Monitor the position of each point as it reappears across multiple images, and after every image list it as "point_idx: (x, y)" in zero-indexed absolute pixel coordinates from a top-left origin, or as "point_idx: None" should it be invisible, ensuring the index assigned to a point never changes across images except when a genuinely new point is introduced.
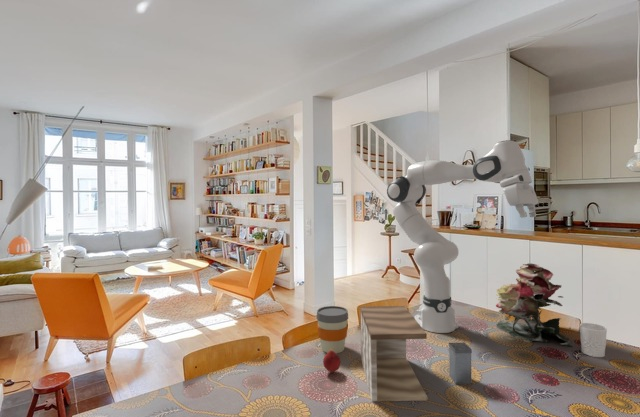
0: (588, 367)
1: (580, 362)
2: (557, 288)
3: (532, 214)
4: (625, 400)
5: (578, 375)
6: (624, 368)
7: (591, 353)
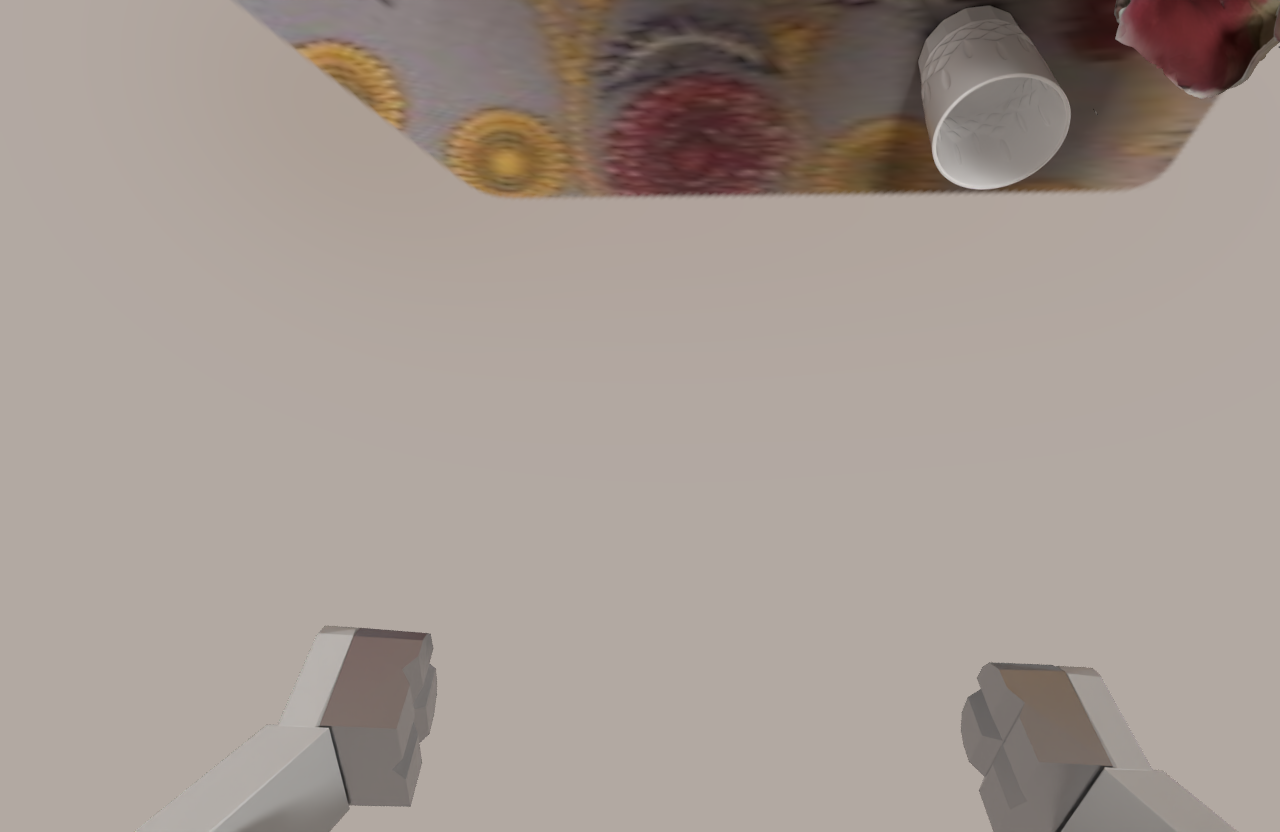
0: (761, 56)
1: (803, 20)
2: (1246, 40)
3: (997, 749)
4: (541, 178)
5: (636, 33)
6: (842, 167)
7: (921, 61)
